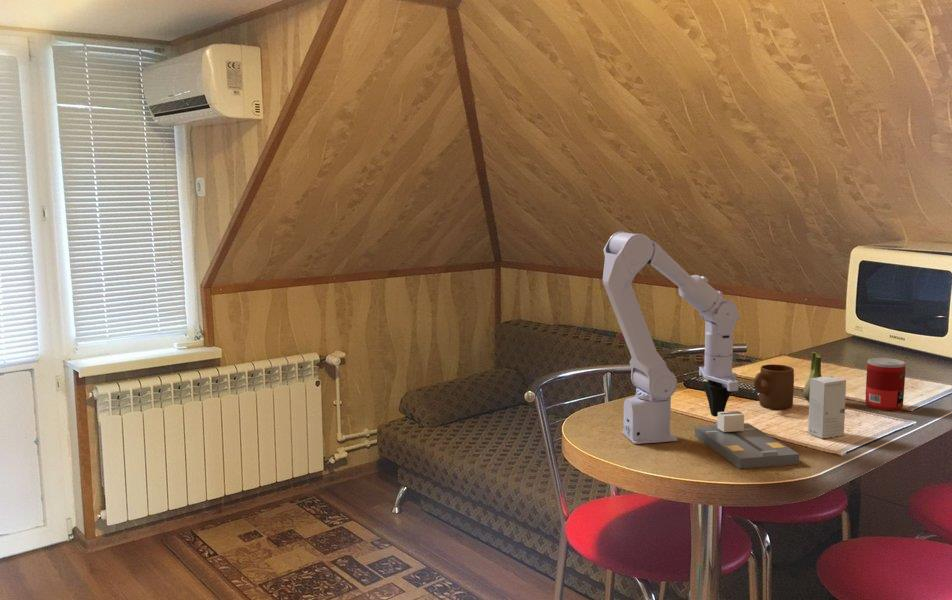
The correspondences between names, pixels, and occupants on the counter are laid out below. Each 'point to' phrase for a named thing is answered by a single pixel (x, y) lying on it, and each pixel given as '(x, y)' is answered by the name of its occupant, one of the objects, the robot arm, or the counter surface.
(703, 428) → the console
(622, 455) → the counter surface
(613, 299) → the robot arm
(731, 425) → the fader knob
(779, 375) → the mug
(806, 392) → the fennel bulb
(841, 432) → the skincare box
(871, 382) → the canned food
